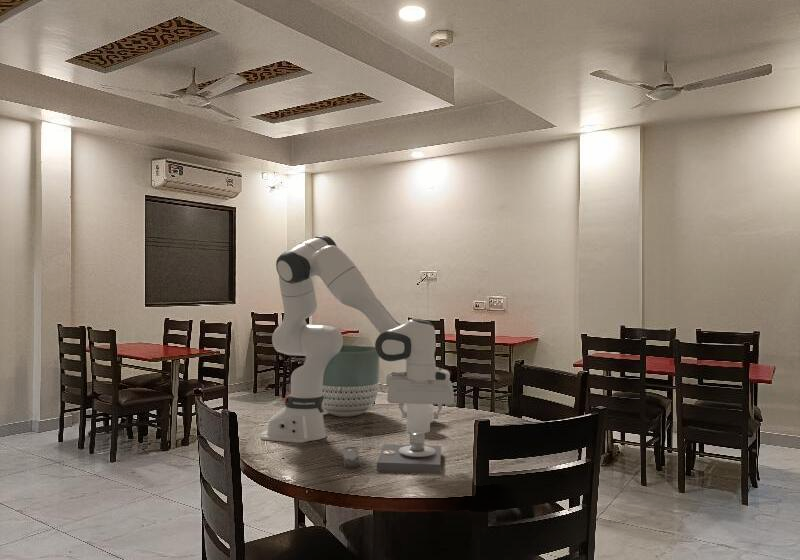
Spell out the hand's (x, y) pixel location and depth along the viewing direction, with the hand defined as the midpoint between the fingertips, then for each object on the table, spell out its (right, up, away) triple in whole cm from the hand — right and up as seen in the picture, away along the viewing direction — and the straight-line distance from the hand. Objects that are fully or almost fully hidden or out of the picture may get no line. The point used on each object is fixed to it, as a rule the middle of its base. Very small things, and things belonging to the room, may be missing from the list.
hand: (420, 418), depth 189 cm
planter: (-28, -13, +65) cm, 72 cm away
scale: (-3, -13, -1) cm, 13 cm away
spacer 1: (-20, -13, -6) cm, 25 cm away
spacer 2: (-1, -9, -1) cm, 9 cm away
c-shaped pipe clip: (+1, -14, +48) cm, 50 cm away
